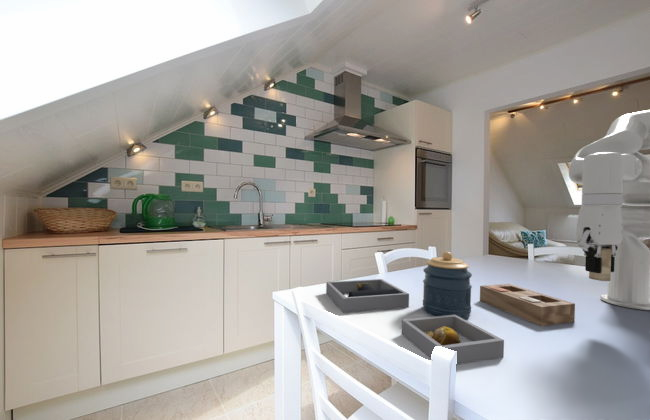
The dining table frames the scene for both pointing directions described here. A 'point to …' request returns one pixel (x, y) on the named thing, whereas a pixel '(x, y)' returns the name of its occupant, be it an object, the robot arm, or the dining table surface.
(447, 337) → the fruit
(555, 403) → the dining table surface
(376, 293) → the pipe connector
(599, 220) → the robot arm
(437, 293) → the canister
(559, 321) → the socket block
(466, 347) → the fruit corral
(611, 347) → the dining table surface
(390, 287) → the tray
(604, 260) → the peg
